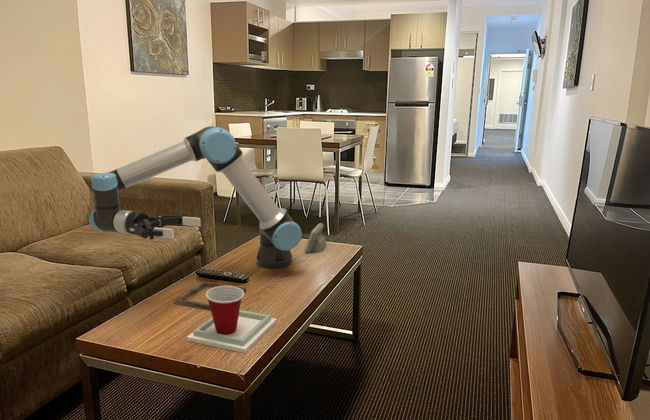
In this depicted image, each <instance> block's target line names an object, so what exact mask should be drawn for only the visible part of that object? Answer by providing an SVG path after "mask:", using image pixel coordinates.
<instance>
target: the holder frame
mask: <svg viewBox="0 0 650 420" xmlns="http://www.w3.org/2000/svg"><path fill="white" fill-rule="evenodd" d="M218 286H234V287H237V288H240V289H241V290H243V291H244V294H245V293H247V287H244V286H237V285H232V284H226V283H225V284H224V283H218V282H212V281H206V280H205V281H203V282H201V283H200V284H198V285H197V286H195V287H194V288H191V289H190V290H188V291H186V292H185V293H184V294H182V295H180V296H179V297H177V298H175V299H174V305H177V306H178V305H179V306H185V307H190V308H195V309H200V310H206V311H211V309H210V306H209V303H205V302H204V303H203V302H199V301H193V300H187V299H188V298H190V297H192V296H193V295H195V294H197V293H198V292H200V291H202V290H203V289H205V288H214V287H218Z"/></svg>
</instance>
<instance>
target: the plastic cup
mask: <svg viewBox="0 0 650 420" xmlns="http://www.w3.org/2000/svg"><path fill="white" fill-rule="evenodd" d="M234 286H235V285H232V286H218V287H214V288H212V287H210V289H208V290H206V292H205V297H206V299H207V301H208V304H209V306H210V309H211V310H210V314H211V317H213V322H214V324H215V329H216V331H217V333H218V334H223V335H229V334H232V333H234V332H235V331H236V328H237V322H238V317H239V310H241V303H242V300H243V297H244V296H245V293H244V291H243V290H241V289H240V288H237V287H234Z"/></svg>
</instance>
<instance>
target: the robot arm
mask: <svg viewBox="0 0 650 420" xmlns="http://www.w3.org/2000/svg"><path fill="white" fill-rule="evenodd" d="M243 154H244V153H243V151H242V149H241V148H240V147H239V146H238V144H237V142H236V140H235V136H233V134H232V133H231V132H230V131H228V130H226V129H225V128H222V127H218V126H210V125H209V126H206V127H203V128H202V129H200V130H198V131H196V132H195V133H192V134H190V135H188V136H186V137H184V138H183V141H180V142H178V143H176V144H174V145H170V146H169V147H167V148H164V149H162V150H159V151H157V152H154V153H152V154H150V155H148V156H145V157H142V158H140V159H138V160H135V161H132V162H129V163H128V164H125V165H123V166H120V167H118V168H116V169H113V170H111V171H109V172H100V173H96V174H92V175H91V177H90V178H91V179H90V180H91V188H92V195H93V202H94V209H93V210H91V212H90V213H89V218H88V223H89V225H90V226H91V228H92V229H93V230H97V231H101V232H104V233H106V232H107V233H109V232H110V233H118V234H120V233H121V234H125V235H126V236H128V235H134V236H135V235H136V236H137V237H140V238H142V239H144V240H145V239H148V237H149V240H154V239H155V238H154V237H156V238H164V239H174V238H175V234H174V228H173V229H172V228H164V227H166V226H167V227H168V226H176V225H182V226H188V227H189V226H190V227H201V226H202V225H201V224H202V223H201V218H200V217H191V216H187V214H185V213H183V214H173V215H170V214H167V215H163V214H162V215H160V214H158V215H156V217H155V216H149V215H148V214H147V213H146V212H143V211H134V210H124V209H121V204H120V196H119V192H121V191H124V190H126V189H127V188H130V187H132V186H135V185H137V184H139V183H142V182H145V181H146V180H149V179H151V178H153V177H156V176H159V175H161V174H163V173H166V172H168V171H170V170H173V169H175V168H177V167H179V166H182V165H185V164H187V163H189V162H191V161H193V162H198V161H201V160H207V162H208V163H209V165H210V166H211V167H212V168H213V170H214V171H215V172H216V173H222V174H223V176H224V177H225V178H226V179H227V180H228V181H229V183H230V184H231V185H232V187H233V188H234V190H235V191H236V192H237V193H238V194H239V196H240V197H241V198H242V200H243V201H244V202H245V204H246V205H247V206H248V208H249V209H250V210H251V211H252V212H253V214H254V215H255V217H256V218H257V219H258V224H259V225H258V226H259V227H258V228H259V229H258V231H259V246H258V251H257V255H256V259H255V260H256V262H255V263H256V265H258V266H259V267H263V268H267V269H278V268H285V267H287V266H290V265H291V264H292V263H293V254H292V252H291V250H293V249H294V248H296V247H298V245H299V244H300V242H301V240H302V237H303V236H302V234H303V233H302V229H301V227H300V225H299V224H298V223H297V222H295V221H294V220H293V218H292V217H291V216H290V214H289V213H288V209H286V208H284V207H283V208H282V207H279V206H277V204H276V202H275V201H274V199H273V198H272V197H271V196H270V195H269V193H268V191H267V190H266V189H265V187H264V186H263V185H262V183H261V182H260V181H259V179H258V178H257V177H256V175H254V172H252V170H251V169H250V167H249V166H248V165H247V163H246V162H245V161H244V160H243Z"/></svg>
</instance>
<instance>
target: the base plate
mask: <svg viewBox="0 0 650 420" xmlns="http://www.w3.org/2000/svg"><path fill="white" fill-rule="evenodd" d="M277 323H278V319H277V318H274V317H272V315H271V314H265V313H259V312H253V311H249V310H242V309H240V310H239V317H238V322H237V328H236V331H235V332H234V333H232V334H229V335H223V334H218V333H217V331H216V329H215V324H214V322H213V317H212V316H211V317H210V318H208V319H207V320H205V321H204V322H203V323H201V324H200V325H199V326H197V327H196V328H195V329H194V330H193V331H192V332H191V333H190V334H188V335H187V336H186V341H187V342H191V343H196V344H200V345H206V346H209V347H215V348H218V349H225V350H228V351H233V352H237V353H242V354H247V353H248V352H249V350H251V349H252V347H254V346H255V345H256V344H257V343H258V342H259V341H260V340H261V339H262V338H263V337H264V336H265V335H266V334H267V333H268V332H269V331H270V330H271V329H272V328H273V327H274V326H275V325H276V324H277Z"/></svg>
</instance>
